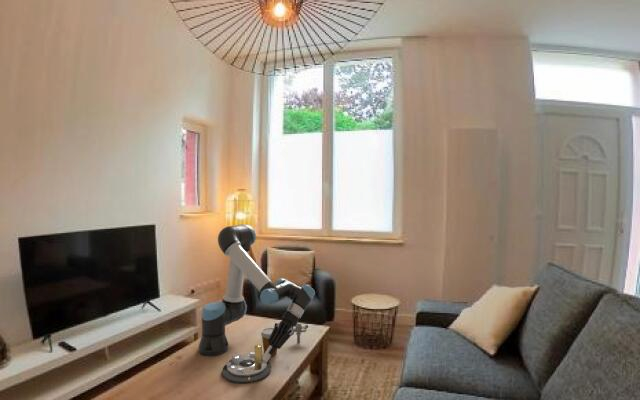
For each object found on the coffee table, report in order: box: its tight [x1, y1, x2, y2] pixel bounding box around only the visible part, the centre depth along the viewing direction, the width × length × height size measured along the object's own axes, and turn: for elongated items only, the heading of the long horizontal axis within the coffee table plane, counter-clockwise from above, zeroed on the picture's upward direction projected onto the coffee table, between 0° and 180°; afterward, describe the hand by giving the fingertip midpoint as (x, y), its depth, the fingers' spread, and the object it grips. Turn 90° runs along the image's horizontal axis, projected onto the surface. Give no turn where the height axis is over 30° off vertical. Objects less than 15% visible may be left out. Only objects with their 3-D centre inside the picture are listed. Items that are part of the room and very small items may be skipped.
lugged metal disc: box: [225, 344, 267, 377], centre depth 173 cm, size 18×18×12 cm
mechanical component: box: [292, 323, 309, 344], centre depth 206 cm, size 3×10×10 cm, turn 89°
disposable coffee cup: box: [260, 327, 278, 358], centre depth 191 cm, size 10×10×12 cm
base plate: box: [221, 360, 272, 385], centre depth 173 cm, size 22×22×2 cm
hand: (264, 359), depth 170 cm, fingers closed
